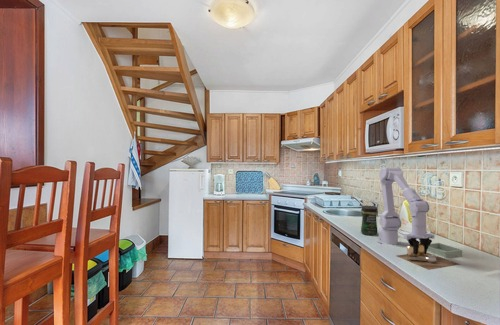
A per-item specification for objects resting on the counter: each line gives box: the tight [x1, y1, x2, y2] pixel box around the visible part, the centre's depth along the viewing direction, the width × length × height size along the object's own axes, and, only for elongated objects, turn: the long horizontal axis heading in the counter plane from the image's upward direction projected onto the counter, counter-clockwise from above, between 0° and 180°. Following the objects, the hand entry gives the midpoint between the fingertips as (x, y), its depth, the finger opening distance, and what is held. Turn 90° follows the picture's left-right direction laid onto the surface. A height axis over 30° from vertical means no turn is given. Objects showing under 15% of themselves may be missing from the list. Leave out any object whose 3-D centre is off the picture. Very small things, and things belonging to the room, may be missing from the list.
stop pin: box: [414, 242, 424, 256], centre depth 114 cm, size 4×4×6 cm
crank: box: [406, 245, 436, 263], centre depth 109 cm, size 11×4×6 cm, turn 76°
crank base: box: [396, 251, 461, 271], centre depth 110 cm, size 16×20×1 cm
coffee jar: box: [360, 205, 379, 236], centre depth 155 cm, size 10×8×19 cm
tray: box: [427, 242, 463, 259], centre depth 119 cm, size 11×11×4 cm
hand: (419, 253), depth 114 cm, fingers closed on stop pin, 4 cm apart
